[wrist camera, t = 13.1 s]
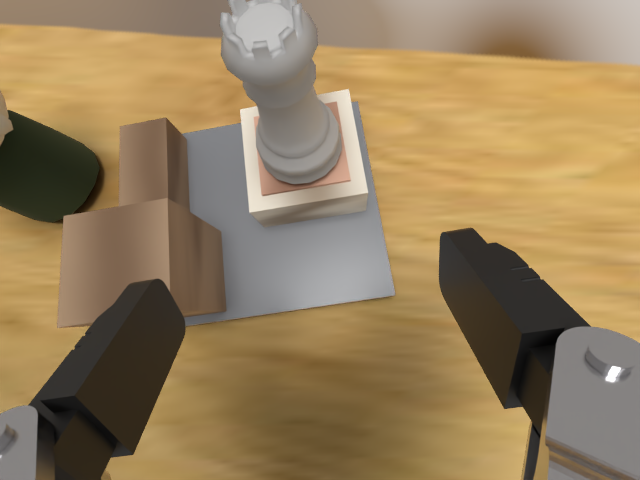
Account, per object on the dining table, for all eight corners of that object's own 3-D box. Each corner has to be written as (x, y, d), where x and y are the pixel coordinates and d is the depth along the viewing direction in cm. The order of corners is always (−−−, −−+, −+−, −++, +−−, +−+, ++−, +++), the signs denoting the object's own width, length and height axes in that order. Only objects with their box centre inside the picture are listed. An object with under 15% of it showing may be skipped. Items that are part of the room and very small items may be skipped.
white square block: (264, 227, 20) (248, 211, 17) (255, 137, 21) (238, 107, 18) (365, 210, 19) (368, 191, 16) (349, 120, 21) (348, 86, 18)
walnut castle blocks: (146, 323, 19) (56, 327, 13) (145, 147, 22) (71, 87, 16) (226, 311, 19) (170, 310, 13) (214, 134, 22) (164, 68, 16)
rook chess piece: (359, 155, 17) (366, 19, 9) (290, 204, 16) (237, 107, 9) (311, 99, 18) (280, -67, 10) (246, 143, 18) (163, 9, 10)
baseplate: (144, 332, 20) (131, 333, 19) (142, 151, 23) (131, 143, 22) (392, 296, 19) (395, 295, 18) (357, 112, 22) (357, 101, 21)
